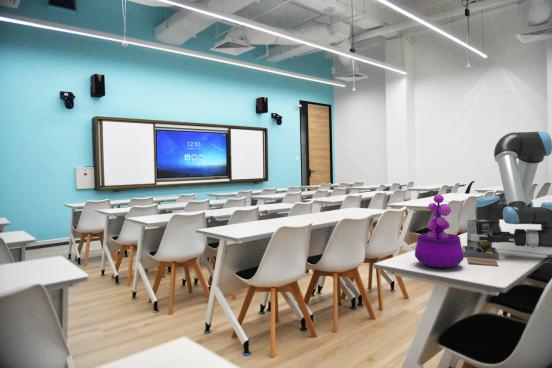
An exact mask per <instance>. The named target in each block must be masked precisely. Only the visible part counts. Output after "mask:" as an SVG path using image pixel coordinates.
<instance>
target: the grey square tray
mask: <svg viewBox="0 0 552 368" xmlns="http://www.w3.org/2000/svg"><path fill="white" fill-rule="evenodd" d="M461 247H462V250H463V257H464V258H466V257H475V258H490V259H496V261H498V260H499V257H500V254H499V251H498V250H497V248H496V247H493V246H492V252H487V251H486V253H482V252H467V245H461Z"/></svg>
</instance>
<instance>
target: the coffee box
mask: <svg viewBox="0 0 552 368" xmlns="http://www.w3.org/2000/svg"><path fill="white" fill-rule="evenodd" d="M466 225H467V226H466V227H467V228H466V230H467V232H466V235H467V237H466V246H467V252H482V253H486V251H487V252H492V247H493V243H490V242H488V241H471V234H474V235H487V237H488V234H490V236H492V221H491V220H482V219H480V220H476V219H469V220H468V219H467V224H466Z"/></svg>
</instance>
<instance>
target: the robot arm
mask: <svg viewBox="0 0 552 368" xmlns="http://www.w3.org/2000/svg"><path fill="white" fill-rule="evenodd" d="M550 155H552V137H551V135H550V134H549V132H547V131H521V132H519V131H518V132H517V131H516V132H515V131H514V132H509V133H507V134H505V135H503V136H502V137H501V138H499V140H498V141H497V143H495V146H494V150H493V156H494V160H495V162H496V163H497V164H498V169H499V175H500V179H501V183H502V188H503V193H504V198H501V197H500V196H499V195H488V196H481V197H478V198H477V199H476V200H475V201H476V202H475V220H480V219H482V220H491V221H492V236H490V234H488V237H487V235H474V234H471V241H488V242H490V243H492V244H494V243H497V244H499V243H500V244H501V243H510V244H511V243H512V244H514V245H515V246H516V247H525V246H526V247H531V248H533V249H534V248H535V247H538V248H550V249H552V202H541V205H540V206H534V202H533V200H532V199H531V197H530V193H531V190H532V187H533V183H534V180H535V177H536V173H537V170H538V166H539V164H540V163H543V161H544V159H545V156H546V157H548V156H550ZM517 159H518V162H517ZM500 220H503V221H504V223H505V224H509V225H540V229H535V228H534V229H531V228H526V229H524V228H515V229H514V231H513V232H514V233H510V231H502V229H501V225H500Z"/></svg>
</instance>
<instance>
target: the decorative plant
mask: <svg viewBox="0 0 552 368" xmlns="http://www.w3.org/2000/svg"><path fill="white" fill-rule="evenodd" d="M444 200H445V199H444V196H443V194H440V193H438V194H437V193H436V194H435V195H434V196H433V201H434V202H431V203H429V204H428V205H427V206H428V207H427V208H428V210H429V211H430V212H435V216H433V217H432V219H431V220H430V221H428V222H427V224H426V226H427V229H428V230H429V231H428V232H426V233H425V232H424V233H420V234H418V236H417V241H416V246H415V250H414V257H415V259H417V261H418V262H419V263H422V264H424V265H426V266H429V267H432V268H433V267H434V268H441V269H442V268H451V267H454V266H458V265H460V264H461V263H462V262H463V261H464V258H465V257H463V250H462V243H461V237H460V236H459V235H457V234H452V233H447V232H445V230H448V229H449V228H450V226H451V224H450V222H449V221H448V220H447V219H446V218H445V217H447V216H448V215H450V214H451V212H452V209H451V206H450V205H448V204H447V203H443V202H444ZM441 203H443V204H441Z"/></svg>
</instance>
